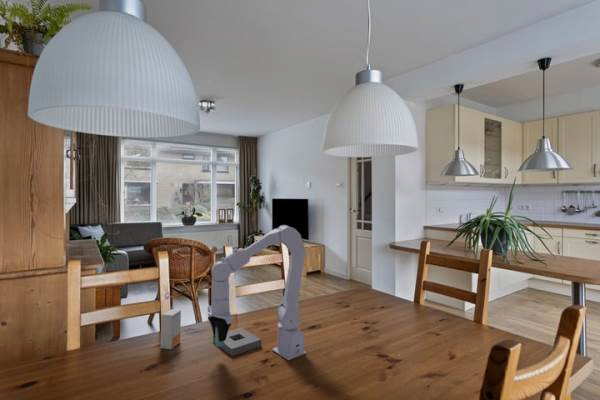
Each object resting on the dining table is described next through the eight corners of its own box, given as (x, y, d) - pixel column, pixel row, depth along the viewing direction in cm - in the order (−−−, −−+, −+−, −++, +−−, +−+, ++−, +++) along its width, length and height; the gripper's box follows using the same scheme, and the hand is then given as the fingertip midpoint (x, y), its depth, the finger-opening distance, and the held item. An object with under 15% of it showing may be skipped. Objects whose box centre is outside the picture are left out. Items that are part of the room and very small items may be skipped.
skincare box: (171, 349, 114) (171, 315, 114) (160, 348, 115) (160, 314, 115) (180, 342, 120) (181, 310, 120) (170, 341, 121) (170, 309, 121)
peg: (226, 344, 108) (226, 326, 108) (217, 347, 106) (217, 329, 106) (221, 341, 110) (222, 324, 110) (213, 344, 108) (213, 326, 108)
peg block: (261, 346, 118) (261, 339, 118) (231, 356, 110) (231, 349, 110) (241, 333, 128) (241, 327, 128) (213, 342, 120) (213, 335, 120)
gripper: (199, 295, 111) (199, 334, 111) (219, 306, 100) (218, 350, 100) (218, 291, 115) (218, 329, 115) (239, 301, 104) (239, 343, 104)
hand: (219, 338), depth 108 cm, fingers closed on peg, 3 cm apart
